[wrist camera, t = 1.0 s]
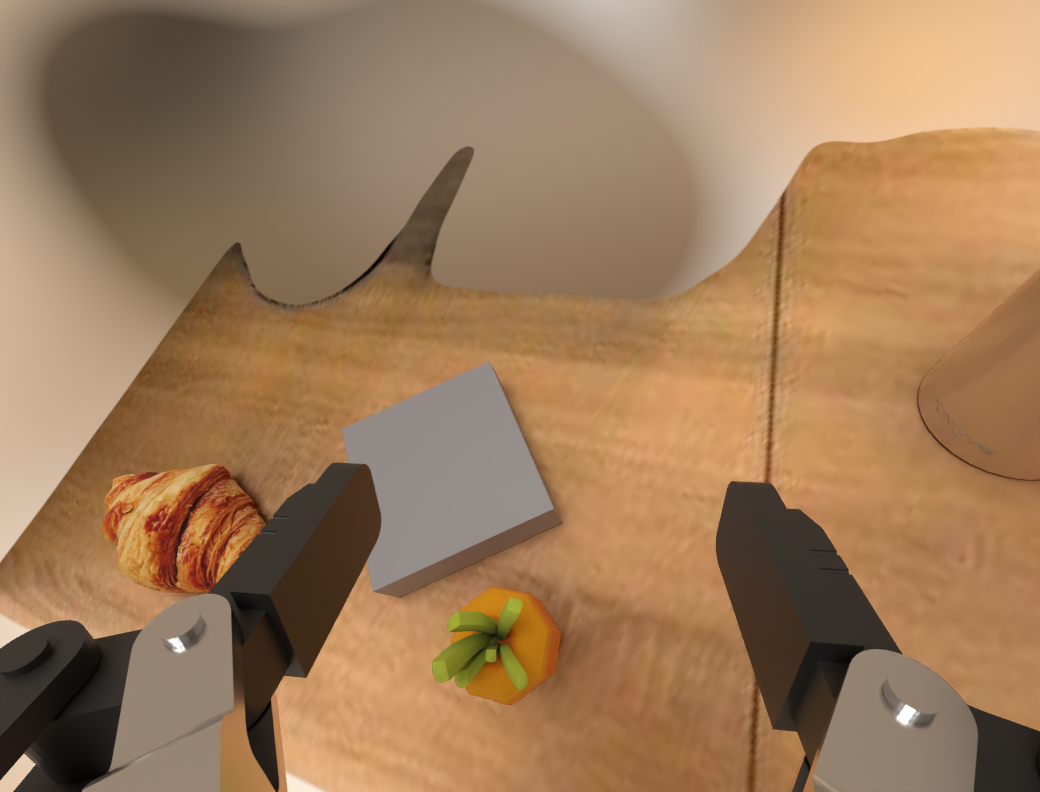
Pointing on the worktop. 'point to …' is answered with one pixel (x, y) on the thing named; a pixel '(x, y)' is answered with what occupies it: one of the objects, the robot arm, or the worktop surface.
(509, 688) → the carrot
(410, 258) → the worktop surface
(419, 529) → the base block
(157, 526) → the croissant
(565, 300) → the worktop surface
